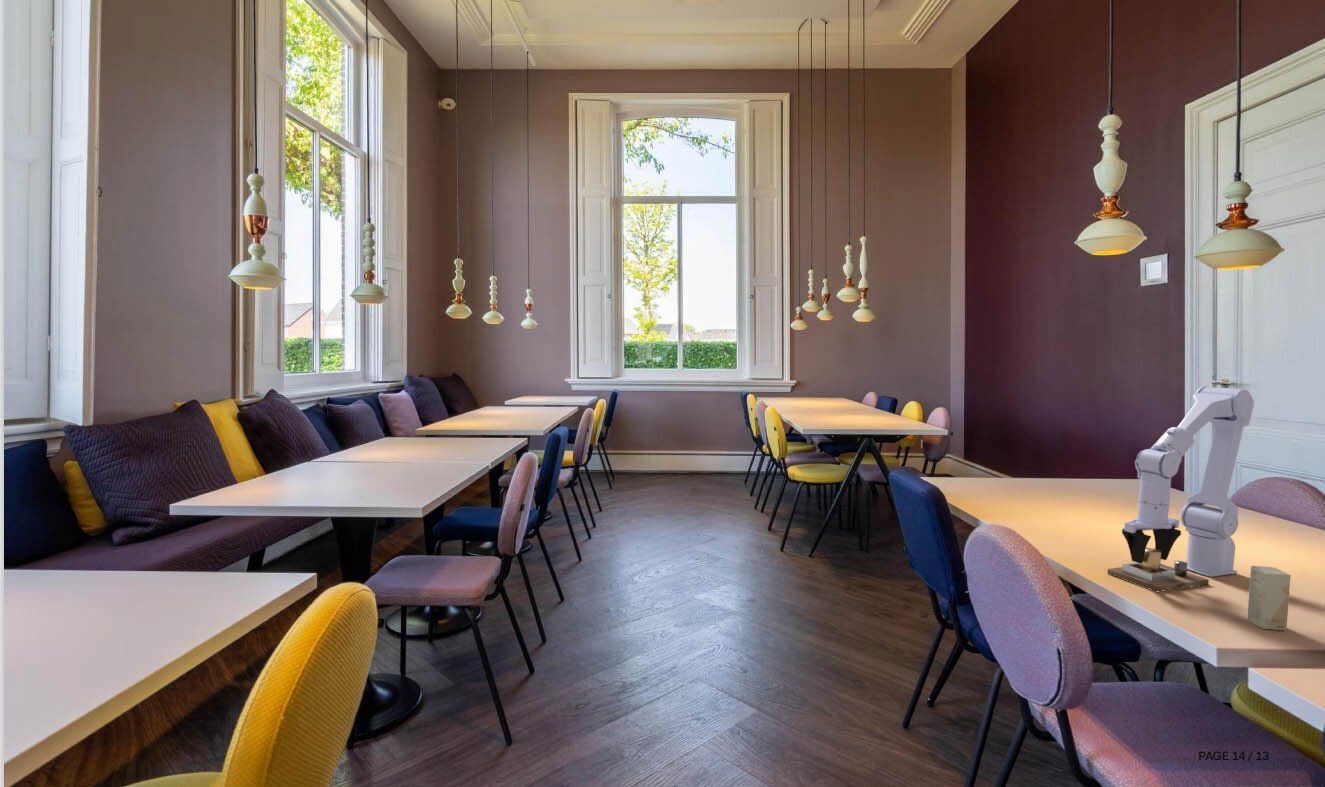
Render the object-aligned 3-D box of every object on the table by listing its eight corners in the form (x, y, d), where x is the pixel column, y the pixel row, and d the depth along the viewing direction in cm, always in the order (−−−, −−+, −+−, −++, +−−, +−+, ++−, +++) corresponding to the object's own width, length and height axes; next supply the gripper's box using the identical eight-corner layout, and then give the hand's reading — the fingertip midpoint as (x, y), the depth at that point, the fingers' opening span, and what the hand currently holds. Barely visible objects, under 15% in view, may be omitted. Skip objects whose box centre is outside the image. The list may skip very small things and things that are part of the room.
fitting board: (1156, 567, 172) (1158, 550, 172) (1208, 584, 161) (1209, 566, 160) (1107, 573, 167) (1108, 556, 166) (1157, 592, 156) (1158, 573, 155)
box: (1287, 631, 136) (1292, 575, 135) (1261, 629, 137) (1266, 573, 136) (1269, 620, 141) (1275, 566, 140) (1245, 618, 142) (1250, 564, 141)
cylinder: (1145, 571, 165) (1147, 546, 164) (1163, 577, 161) (1165, 551, 161) (1134, 573, 164) (1136, 548, 163) (1151, 579, 160) (1153, 553, 159)
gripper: (1147, 509, 155) (1142, 569, 156) (1194, 504, 160) (1189, 562, 161) (1117, 501, 162) (1113, 559, 163) (1163, 496, 166) (1159, 553, 168)
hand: (1149, 560), depth 162 cm, fingers open, 7 cm apart
